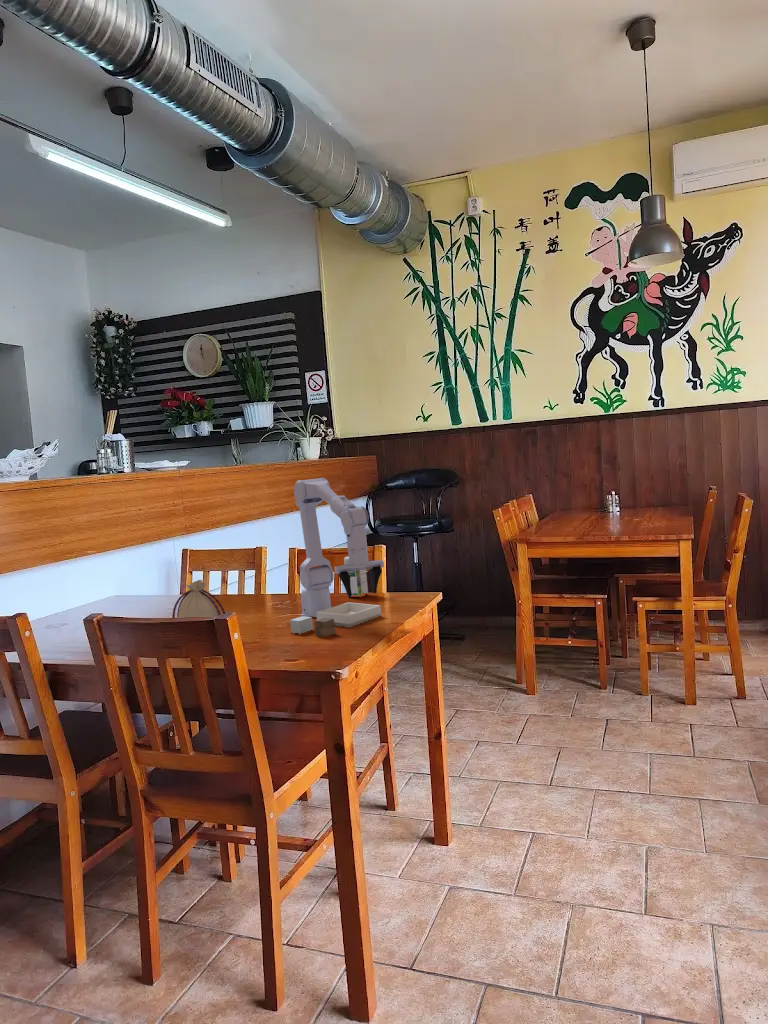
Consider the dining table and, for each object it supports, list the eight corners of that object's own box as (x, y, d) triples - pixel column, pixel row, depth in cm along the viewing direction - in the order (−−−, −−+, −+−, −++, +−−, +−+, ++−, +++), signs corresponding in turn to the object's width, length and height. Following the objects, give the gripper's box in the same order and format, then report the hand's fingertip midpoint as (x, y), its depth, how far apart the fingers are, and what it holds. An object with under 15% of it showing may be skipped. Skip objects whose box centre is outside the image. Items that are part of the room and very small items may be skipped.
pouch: (248, 642, 209) (240, 576, 207) (233, 650, 201) (226, 582, 200) (172, 643, 217) (165, 580, 215) (156, 651, 209) (148, 585, 207)
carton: (291, 633, 216) (290, 619, 215) (303, 629, 219) (302, 616, 219) (300, 634, 213) (299, 621, 213) (313, 630, 217) (311, 617, 216)
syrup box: (346, 598, 260) (342, 557, 259) (355, 594, 265) (351, 554, 264) (360, 598, 257) (356, 557, 256) (368, 594, 263) (365, 554, 261)
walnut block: (315, 636, 209) (314, 620, 209) (325, 632, 212) (324, 617, 212) (325, 637, 207) (323, 621, 206) (335, 633, 210) (333, 618, 209)
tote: (317, 623, 225) (316, 612, 224) (349, 613, 235) (348, 602, 235) (349, 627, 215) (348, 615, 215) (381, 616, 226) (380, 605, 225)
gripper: (337, 553, 207) (342, 600, 208) (385, 546, 212) (389, 592, 213) (330, 551, 214) (335, 596, 215) (377, 544, 218) (381, 589, 219)
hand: (362, 594), depth 214 cm, fingers open, 7 cm apart
